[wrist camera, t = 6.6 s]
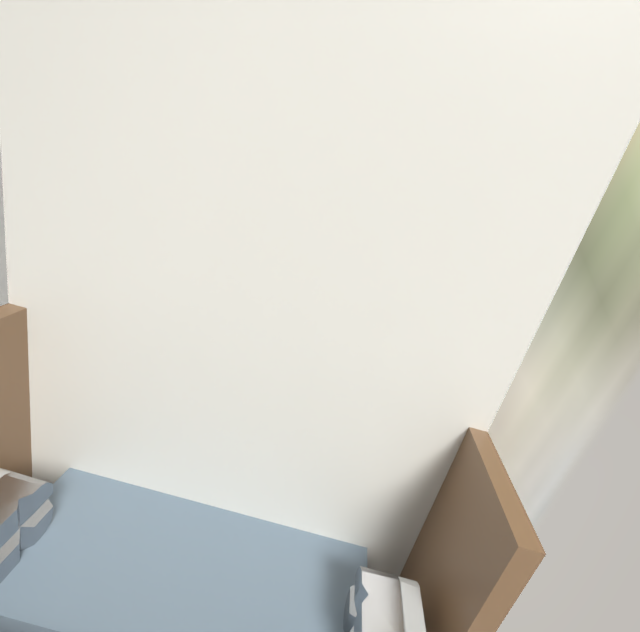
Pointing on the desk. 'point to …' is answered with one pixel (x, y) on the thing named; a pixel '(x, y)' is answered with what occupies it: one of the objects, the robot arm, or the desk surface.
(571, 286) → the desk surface
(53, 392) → the tunnel deck
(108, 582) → the slate bar
